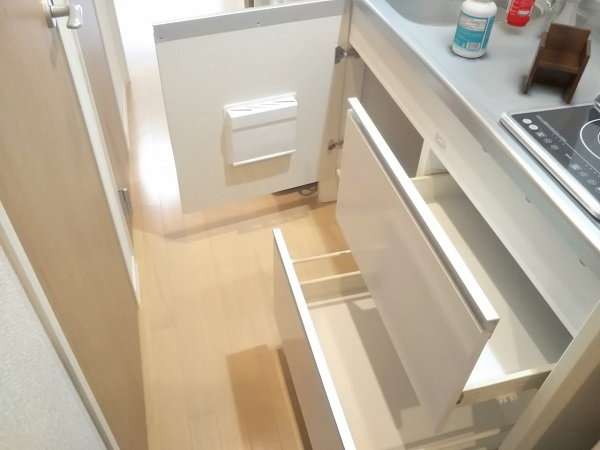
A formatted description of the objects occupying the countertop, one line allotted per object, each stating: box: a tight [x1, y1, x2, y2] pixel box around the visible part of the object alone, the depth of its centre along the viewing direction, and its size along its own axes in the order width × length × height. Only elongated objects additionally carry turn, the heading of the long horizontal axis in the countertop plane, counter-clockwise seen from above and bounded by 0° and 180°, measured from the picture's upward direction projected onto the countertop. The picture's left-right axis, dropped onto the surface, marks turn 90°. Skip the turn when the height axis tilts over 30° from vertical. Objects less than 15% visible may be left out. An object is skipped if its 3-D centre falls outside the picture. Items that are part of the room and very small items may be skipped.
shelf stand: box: [522, 21, 592, 105], centre depth 103 cm, size 9×8×12 cm
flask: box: [546, 0, 582, 32], centre depth 123 cm, size 7×7×10 cm
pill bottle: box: [451, 0, 498, 59], centre depth 114 cm, size 8×7×14 cm
